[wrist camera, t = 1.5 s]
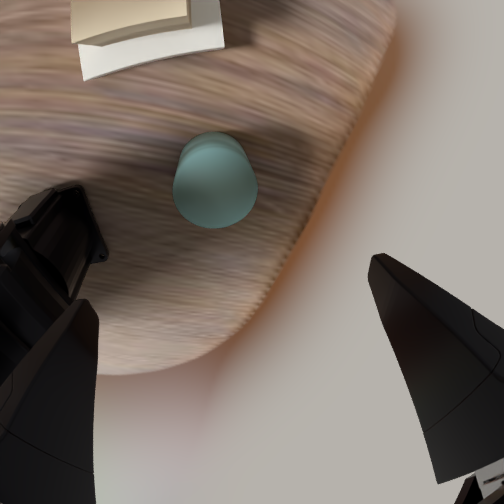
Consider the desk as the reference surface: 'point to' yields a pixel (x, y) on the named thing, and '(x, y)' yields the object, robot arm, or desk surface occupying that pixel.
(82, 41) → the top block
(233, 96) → the desk surface
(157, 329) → the desk surface
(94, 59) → the base slab
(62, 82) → the desk surface
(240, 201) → the sage green cylinder
